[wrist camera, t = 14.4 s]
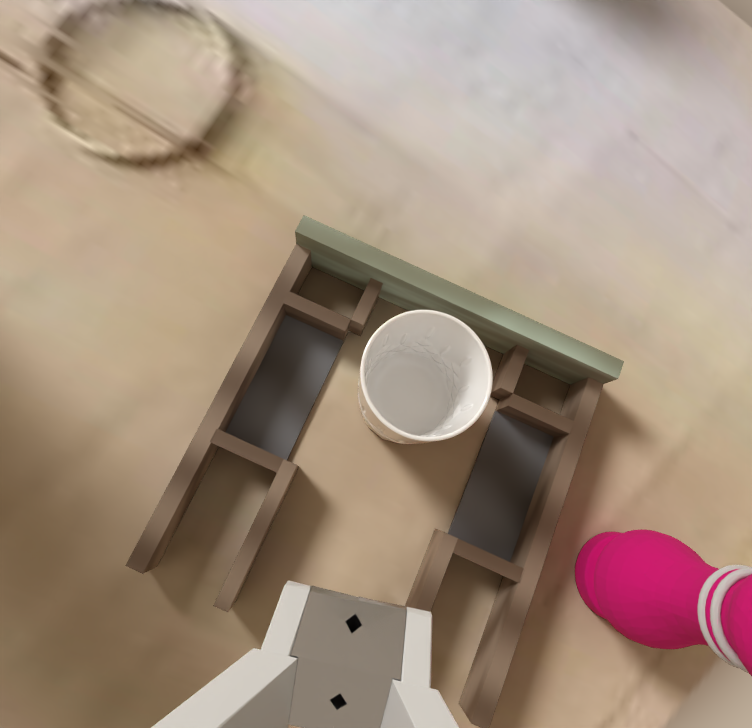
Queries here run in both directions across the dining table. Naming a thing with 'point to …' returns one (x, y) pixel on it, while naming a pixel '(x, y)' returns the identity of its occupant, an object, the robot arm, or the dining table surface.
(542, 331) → the organizer tray
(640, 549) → the pepper mill
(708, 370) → the dining table surface
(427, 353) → the white cup
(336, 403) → the dining table surface
